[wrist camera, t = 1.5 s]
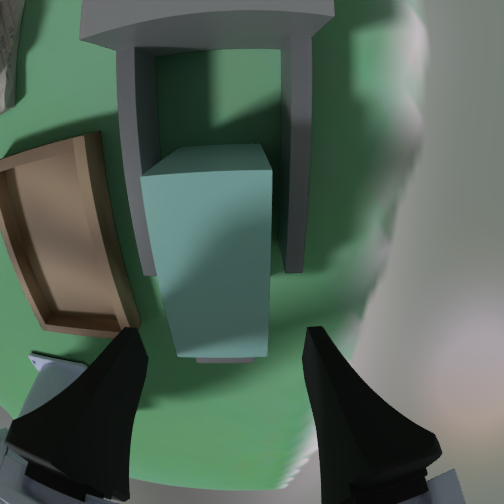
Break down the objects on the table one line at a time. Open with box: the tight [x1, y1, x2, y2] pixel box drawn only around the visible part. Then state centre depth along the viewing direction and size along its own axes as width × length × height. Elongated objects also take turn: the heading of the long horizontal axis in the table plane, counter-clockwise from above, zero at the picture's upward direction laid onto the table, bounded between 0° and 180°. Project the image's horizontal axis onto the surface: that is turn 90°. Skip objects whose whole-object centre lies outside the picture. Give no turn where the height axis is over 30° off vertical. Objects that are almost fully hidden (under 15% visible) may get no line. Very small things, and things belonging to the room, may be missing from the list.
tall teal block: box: [140, 144, 272, 363], centre depth 13 cm, size 9×4×6 cm, turn 1°
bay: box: [79, 0, 335, 276], centre depth 9 cm, size 17×8×6 cm, turn 1°
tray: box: [0, 131, 141, 339], centre depth 15 cm, size 13×8×2 cm, turn 1°
